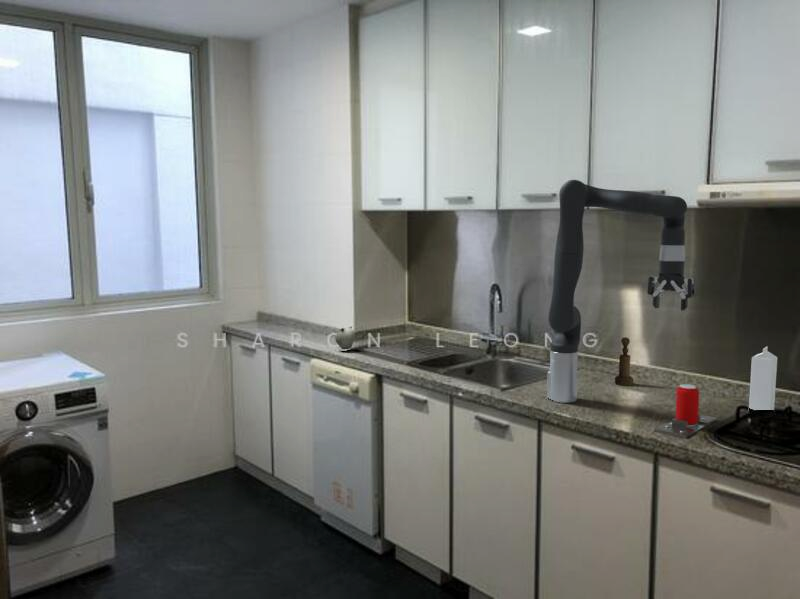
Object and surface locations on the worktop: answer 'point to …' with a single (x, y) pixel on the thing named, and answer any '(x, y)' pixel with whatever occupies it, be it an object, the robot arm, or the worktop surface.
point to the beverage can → (687, 404)
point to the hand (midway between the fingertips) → (669, 309)
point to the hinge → (684, 426)
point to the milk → (763, 381)
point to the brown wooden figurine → (624, 366)
